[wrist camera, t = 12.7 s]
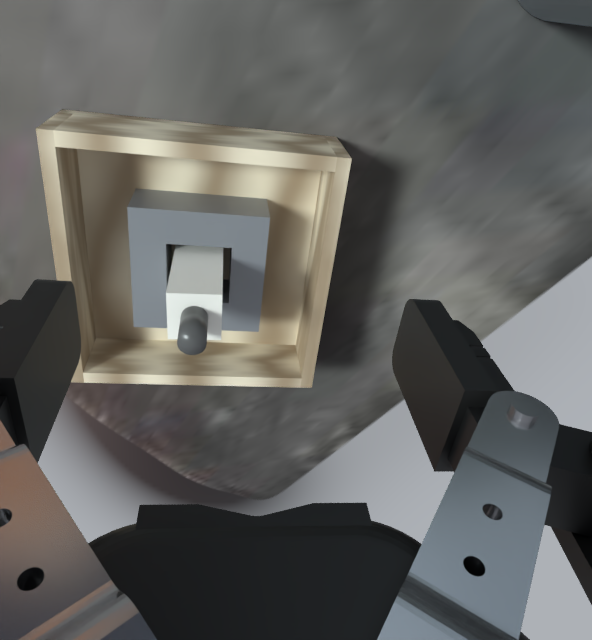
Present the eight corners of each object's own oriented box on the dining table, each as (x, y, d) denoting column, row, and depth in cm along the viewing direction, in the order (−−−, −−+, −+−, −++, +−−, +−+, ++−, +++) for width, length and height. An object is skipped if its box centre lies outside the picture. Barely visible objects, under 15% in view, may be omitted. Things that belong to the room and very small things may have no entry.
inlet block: (266, 198, 41) (270, 217, 38) (256, 306, 46) (258, 331, 43) (135, 188, 39) (127, 207, 36) (140, 301, 45) (133, 327, 41)
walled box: (336, 137, 40) (351, 158, 35) (303, 347, 50) (311, 387, 45) (62, 109, 37) (35, 128, 32) (88, 340, 47) (71, 382, 42)
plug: (223, 233, 42) (222, 319, 31) (222, 273, 44) (220, 366, 33) (178, 231, 42) (160, 318, 31) (179, 271, 43) (162, 366, 33)
